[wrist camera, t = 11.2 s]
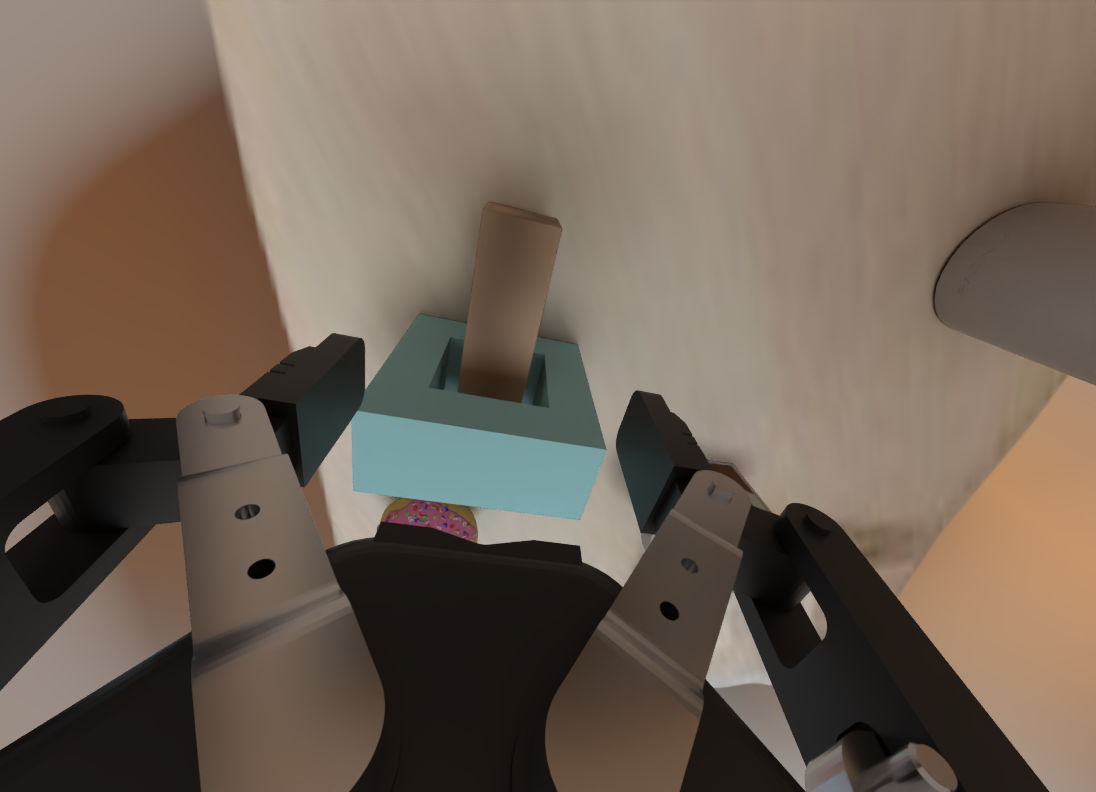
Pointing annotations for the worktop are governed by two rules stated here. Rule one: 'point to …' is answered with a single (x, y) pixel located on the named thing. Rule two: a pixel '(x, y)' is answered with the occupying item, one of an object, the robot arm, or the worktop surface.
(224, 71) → the worktop surface
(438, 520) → the cupcake
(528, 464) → the light blue hollow block
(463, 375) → the brown rectangular block
